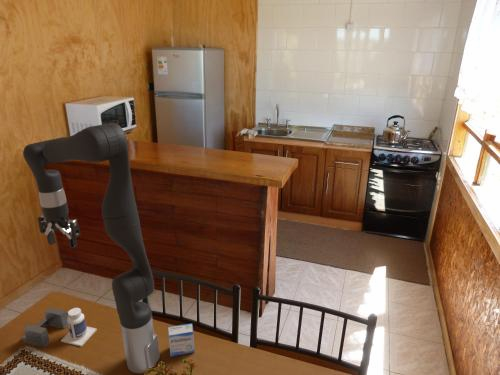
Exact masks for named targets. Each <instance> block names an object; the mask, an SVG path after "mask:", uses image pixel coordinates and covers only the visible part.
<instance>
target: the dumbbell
mask: <svg viewBox="0 0 500 375" xmlns="http://www.w3.org/2000/svg"><path fill="white" fill-rule="evenodd" d="M68 312H69V311H66V310H64V309H59V308H54V307H50V306H49V307H48V308H47V309H45V310H44V312H43V313H44V317H43V318H42V319H41V320H40V321H39V322H38V323H36V324H35V325H34V324H28V325H27V326H26V327H24V328H23V332H24V334H23V336H21V340H22V343H26V344H29V345H34V346H36V347H40V348H43V349H44V348H46V347H47V346H48V345H49V344H50V343H51V341H50V338H49V332H48V329H47V327H48V326H50V327H54V328H58V329H63V330H64V329H65V328H67V327H68V323H67V318H68Z"/></svg>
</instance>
